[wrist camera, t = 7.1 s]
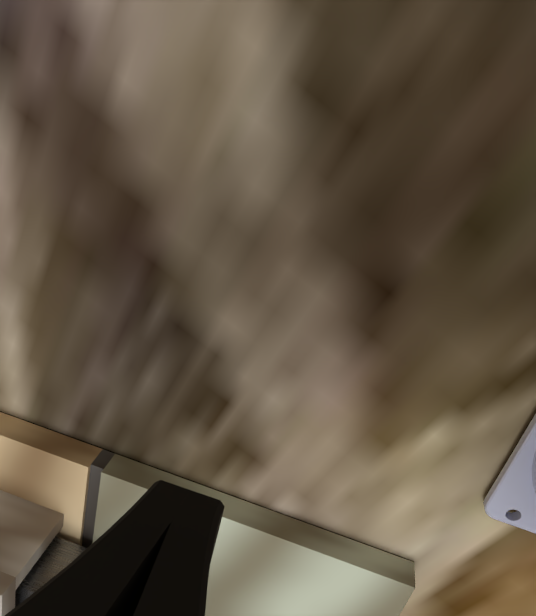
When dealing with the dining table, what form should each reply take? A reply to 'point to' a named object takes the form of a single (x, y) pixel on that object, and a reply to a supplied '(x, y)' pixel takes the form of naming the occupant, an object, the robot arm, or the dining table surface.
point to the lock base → (228, 548)
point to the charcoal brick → (48, 567)
